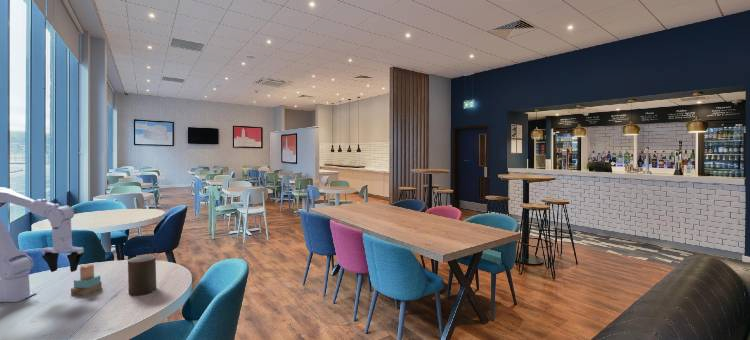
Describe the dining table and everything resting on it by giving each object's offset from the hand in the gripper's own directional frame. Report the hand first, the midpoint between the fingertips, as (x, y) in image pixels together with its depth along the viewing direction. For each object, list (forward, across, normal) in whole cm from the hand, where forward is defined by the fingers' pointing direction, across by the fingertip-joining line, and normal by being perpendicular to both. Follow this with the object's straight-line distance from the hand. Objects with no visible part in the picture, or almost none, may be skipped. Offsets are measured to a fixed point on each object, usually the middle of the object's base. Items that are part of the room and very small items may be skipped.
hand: (63, 271), depth 142 cm
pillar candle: (+10, +28, +4) cm, 30 cm away
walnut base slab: (+11, +5, +5) cm, 13 cm away
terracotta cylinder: (+5, +5, +5) cm, 8 cm away
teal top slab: (+8, +5, +5) cm, 10 cm away
